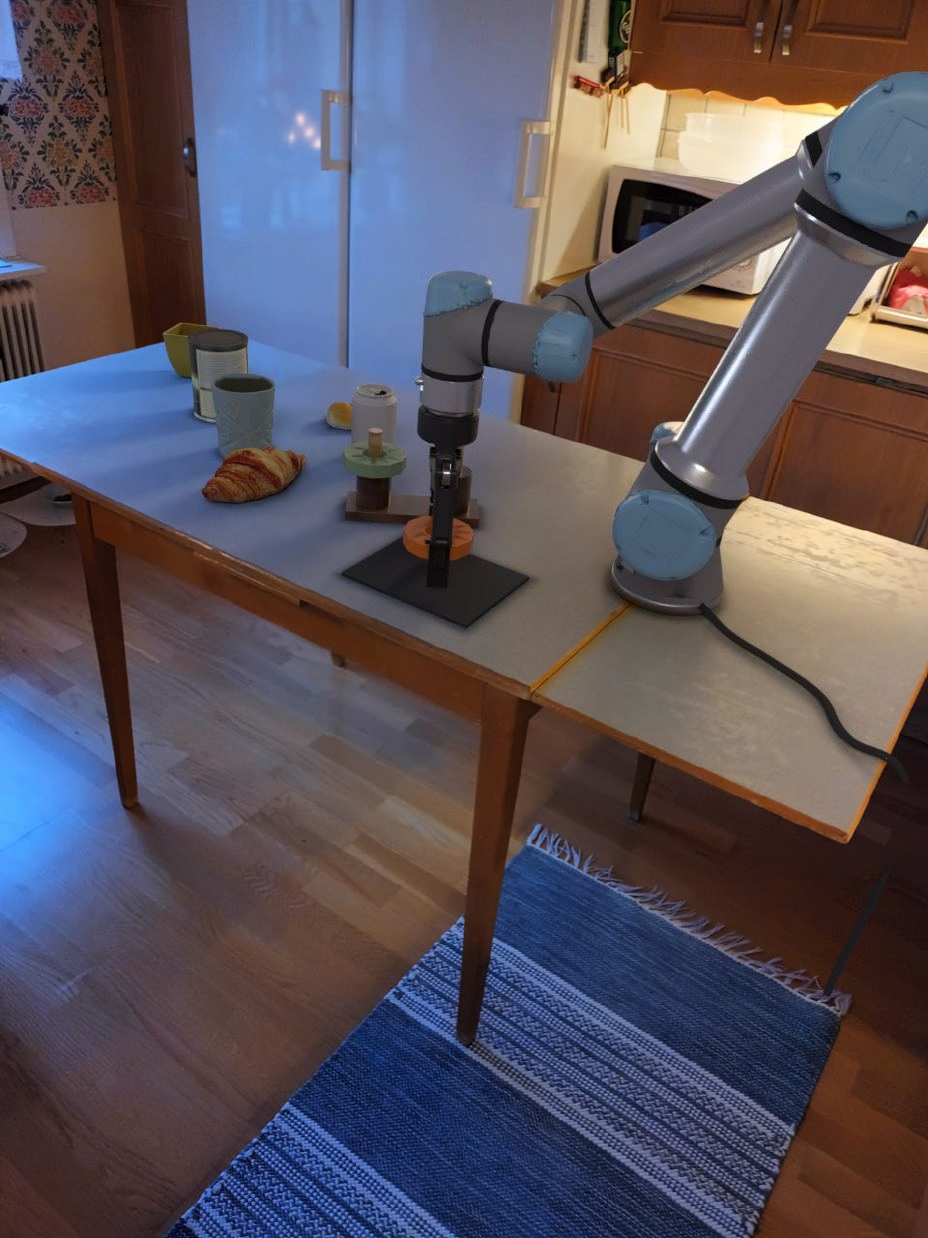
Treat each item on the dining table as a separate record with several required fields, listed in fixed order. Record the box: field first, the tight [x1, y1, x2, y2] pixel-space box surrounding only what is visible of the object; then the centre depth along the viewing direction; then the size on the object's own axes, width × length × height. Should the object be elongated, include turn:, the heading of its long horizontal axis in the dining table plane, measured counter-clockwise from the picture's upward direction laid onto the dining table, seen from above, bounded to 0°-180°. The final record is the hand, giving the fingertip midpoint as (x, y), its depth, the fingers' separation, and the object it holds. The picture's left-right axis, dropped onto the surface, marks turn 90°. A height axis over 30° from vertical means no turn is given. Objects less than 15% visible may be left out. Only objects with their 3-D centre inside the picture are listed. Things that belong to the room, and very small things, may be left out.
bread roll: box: [325, 401, 352, 431], centre depth 170 cm, size 8×9×4 cm
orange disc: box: [402, 516, 475, 560], centre depth 122 cm, size 9×9×2 cm
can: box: [350, 383, 398, 446], centre depth 155 cm, size 8×8×12 cm
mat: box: [341, 536, 530, 629], centre depth 125 cm, size 20×16×1 cm
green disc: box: [342, 442, 407, 478], centre depth 136 cm, size 9×9×2 cm
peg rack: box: [344, 428, 480, 529], centre depth 137 cm, size 20×7×13 cm, turn 92°
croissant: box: [201, 446, 307, 504], centre depth 143 cm, size 21×10×8 cm, turn 146°
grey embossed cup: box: [211, 373, 276, 459], centre depth 152 cm, size 10×10×12 cm
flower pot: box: [162, 322, 222, 379], centre depth 184 cm, size 9×9×9 cm
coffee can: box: [188, 328, 250, 424], centre depth 166 cm, size 10×10×14 cm
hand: (436, 566), depth 124 cm, fingers closed on orange disc, 9 cm apart
